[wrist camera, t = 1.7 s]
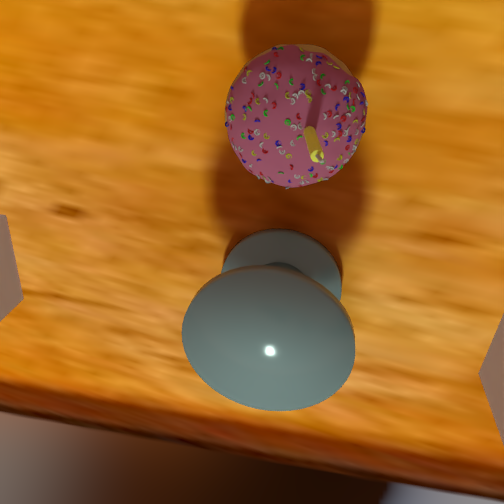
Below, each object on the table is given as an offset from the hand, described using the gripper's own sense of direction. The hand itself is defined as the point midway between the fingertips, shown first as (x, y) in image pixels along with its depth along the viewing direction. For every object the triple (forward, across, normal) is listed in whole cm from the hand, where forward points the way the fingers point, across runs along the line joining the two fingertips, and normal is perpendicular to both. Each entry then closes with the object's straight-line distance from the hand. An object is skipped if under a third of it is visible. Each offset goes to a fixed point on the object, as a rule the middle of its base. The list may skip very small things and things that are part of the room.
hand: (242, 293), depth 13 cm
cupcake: (+24, 0, 0) cm, 24 cm away
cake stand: (+23, 0, +15) cm, 27 cm away
